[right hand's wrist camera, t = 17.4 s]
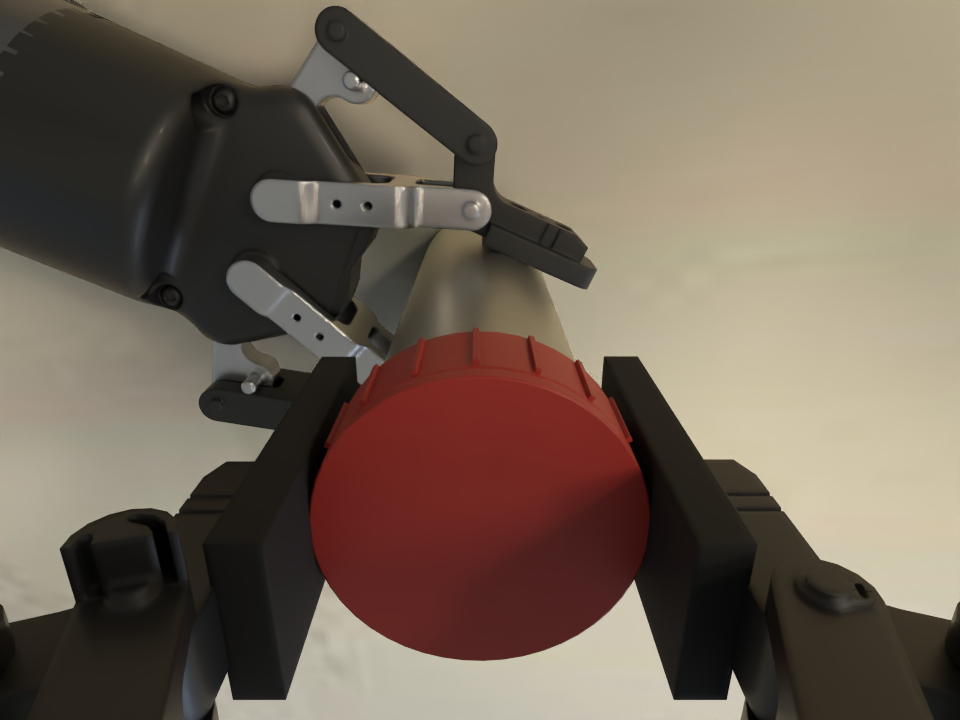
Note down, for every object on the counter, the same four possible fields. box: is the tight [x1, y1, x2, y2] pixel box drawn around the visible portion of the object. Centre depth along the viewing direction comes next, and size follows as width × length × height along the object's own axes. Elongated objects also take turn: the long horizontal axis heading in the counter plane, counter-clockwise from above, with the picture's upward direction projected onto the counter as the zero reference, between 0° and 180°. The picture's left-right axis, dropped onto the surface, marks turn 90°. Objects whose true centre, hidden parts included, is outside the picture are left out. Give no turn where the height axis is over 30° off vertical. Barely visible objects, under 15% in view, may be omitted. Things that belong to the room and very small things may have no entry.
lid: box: [309, 328, 650, 661], centre depth 11 cm, size 6×6×2 cm
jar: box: [385, 229, 575, 362], centre depth 19 cm, size 5×5×17 cm
